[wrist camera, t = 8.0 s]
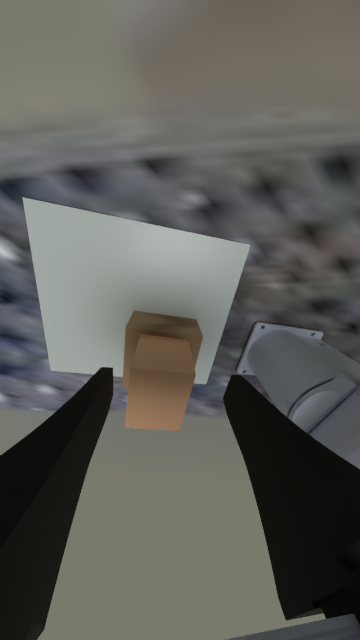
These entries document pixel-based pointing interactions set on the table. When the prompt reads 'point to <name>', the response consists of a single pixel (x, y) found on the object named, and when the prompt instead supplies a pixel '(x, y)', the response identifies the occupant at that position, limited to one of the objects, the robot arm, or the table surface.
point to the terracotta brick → (159, 383)
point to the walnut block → (158, 334)
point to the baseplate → (124, 283)
